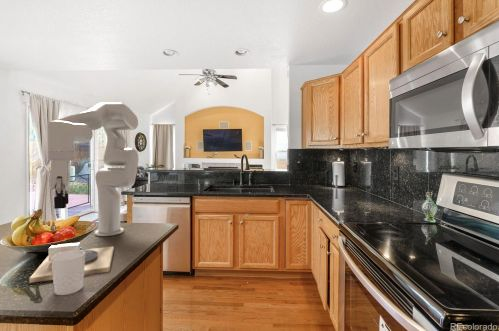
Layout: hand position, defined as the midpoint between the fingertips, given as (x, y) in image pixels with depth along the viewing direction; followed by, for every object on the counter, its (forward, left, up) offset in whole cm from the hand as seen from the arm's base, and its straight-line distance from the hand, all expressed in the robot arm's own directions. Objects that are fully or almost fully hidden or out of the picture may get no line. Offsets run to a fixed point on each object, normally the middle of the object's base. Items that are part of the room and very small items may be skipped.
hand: (61, 205), depth 94 cm
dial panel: (+5, +6, -20) cm, 21 cm away
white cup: (+24, +7, -20) cm, 32 cm away
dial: (+5, +4, -18) cm, 19 cm away
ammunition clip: (-14, -9, -20) cm, 27 cm away
